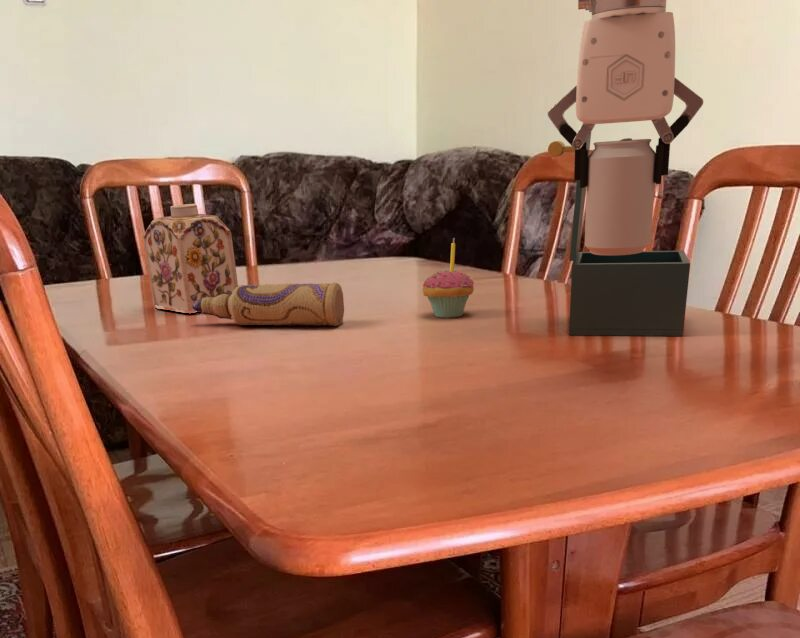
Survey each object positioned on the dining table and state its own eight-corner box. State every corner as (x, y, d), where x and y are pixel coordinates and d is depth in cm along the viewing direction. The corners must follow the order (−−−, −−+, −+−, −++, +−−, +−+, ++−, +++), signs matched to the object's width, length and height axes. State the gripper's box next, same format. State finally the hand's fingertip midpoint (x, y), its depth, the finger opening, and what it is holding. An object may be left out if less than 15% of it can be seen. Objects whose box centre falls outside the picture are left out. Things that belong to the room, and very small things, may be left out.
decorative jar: (242, 305, 155) (229, 202, 147) (190, 316, 147) (174, 207, 140) (204, 300, 162) (190, 201, 155) (152, 309, 155) (135, 206, 147)
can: (573, 255, 96) (576, 142, 91) (599, 247, 102) (603, 139, 96) (636, 257, 92) (643, 138, 87) (659, 248, 98) (667, 135, 92)
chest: (677, 317, 128) (684, 250, 124) (682, 336, 116) (690, 263, 112) (573, 316, 132) (576, 252, 128) (568, 335, 120) (571, 264, 116)
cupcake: (438, 309, 143) (437, 236, 138) (483, 312, 139) (483, 236, 134) (414, 318, 136) (411, 242, 131) (460, 321, 132) (459, 242, 127)
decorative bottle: (348, 320, 137) (346, 279, 134) (334, 330, 130) (331, 287, 127) (206, 319, 143) (201, 279, 140) (186, 329, 136) (180, 287, 134)
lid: (591, 129, 120) (554, 129, 121) (587, 129, 108) (547, 128, 109) (579, 249, 128) (545, 247, 129) (575, 261, 115) (536, 259, 117)
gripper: (541, 7, 85) (539, 191, 93) (721, -12, 81) (703, 183, 88) (547, 15, 92) (545, 187, 99) (713, -2, 87) (698, 179, 95)
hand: (620, 184), depth 94 cm, fingers closed on can, 7 cm apart
